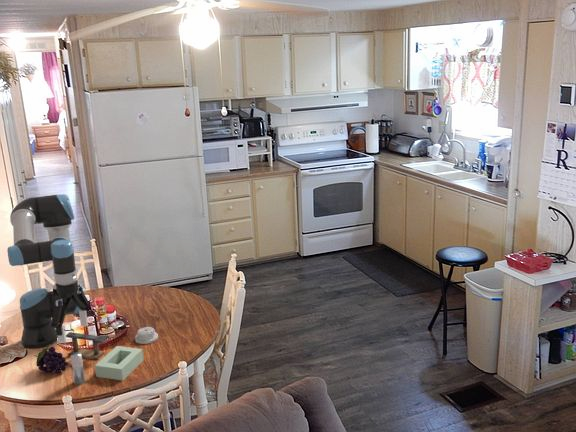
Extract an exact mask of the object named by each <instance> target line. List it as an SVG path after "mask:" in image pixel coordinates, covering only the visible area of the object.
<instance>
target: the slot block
mask: <svg viewBox="0 0 576 432" xmlns="http://www.w3.org/2000/svg"><path fill="white" fill-rule="evenodd" d="M144 359H145V358H144V350H143V348H137V347H129V346H121V345H116V346H115V347H114V348H113V349H112V350H111V351H109V352H108V353H107V354H106V355H105V356H104V357H103V358H101V359H100V360H99V361H98V362H97V363H96V364H95V365H94V371H95V377H96V378H104V379H110V380H116V381H124V380H125V379H126V378H127V377H128V376H129V375H130V374H131V373H132V372H133V371H134V370H136V368H138V367H139V365H140V364H141V363H142V362H144Z"/></svg>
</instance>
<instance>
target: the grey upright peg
mask: <svg viewBox="0 0 576 432" xmlns="http://www.w3.org/2000/svg"><path fill="white" fill-rule="evenodd" d="M69 357H70V362H71V369H72V376H73V377H72V378H73V383H74V385H75V386H81V385H83V384H85V383H86V377H85V369H84V363H83V358H82V354H81V352H75V353H72V354H71V355H70V356H69Z"/></svg>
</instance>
